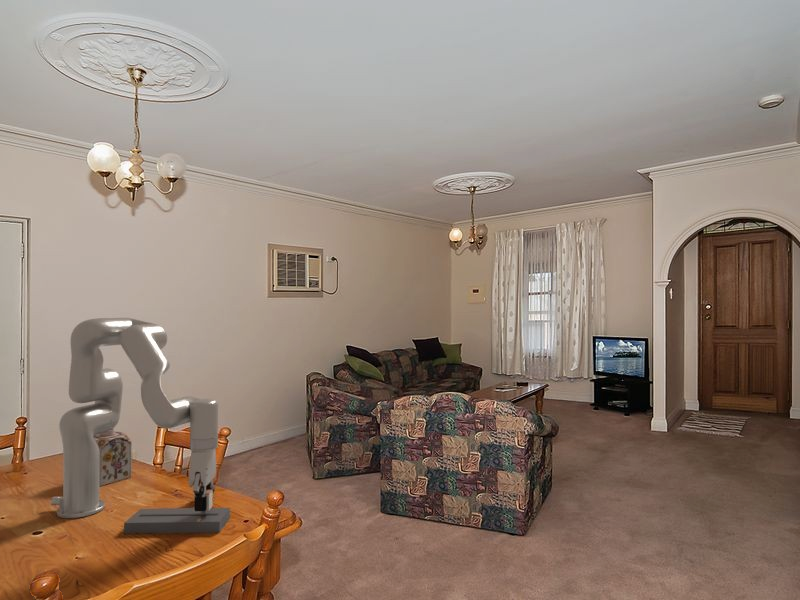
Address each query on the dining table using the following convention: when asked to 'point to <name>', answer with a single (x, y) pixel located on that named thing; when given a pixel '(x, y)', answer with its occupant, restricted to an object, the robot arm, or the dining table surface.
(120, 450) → the decorative jar
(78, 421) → the robot arm
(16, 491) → the dining table surface
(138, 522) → the console
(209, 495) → the fader
